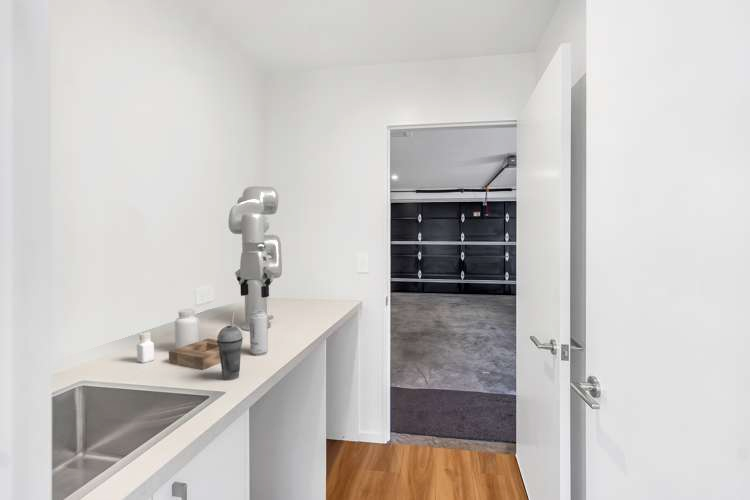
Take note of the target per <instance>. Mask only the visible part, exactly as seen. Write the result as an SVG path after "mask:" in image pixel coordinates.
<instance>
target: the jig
mask: <svg viewBox="0 0 750 500" xmlns="http://www.w3.org/2000/svg"><path fill="white" fill-rule="evenodd" d="M168 362H169V364H174V365H178V366H183V367H188V368H192V369H198V370H202V371H203V370H205V369H206V370H207V369H209V368H211V367H213V366H216V365H218V364H221V360H220V352H219V347H218V342H217V339H214V338H206V339H201V340H199V342H196V343H192V344H189V345H186V346H183V347H180V348H177V349H176V348H174V349H171V350H168Z"/></svg>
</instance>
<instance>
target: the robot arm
mask: <svg viewBox="0 0 750 500" xmlns="http://www.w3.org/2000/svg"><path fill="white" fill-rule="evenodd" d="M278 206H279V195H278V191H277V189H275V187H273V186H257V185H256V186H248V187H246V188H244V190H243V192H242V196H241V197H239V198H237V204H235V205H233V206H232V207H231V209H230V211H229V214H228V221H227V222H228V229H229V231H230V232H231V233H232V234H234V235H241V243H242V244H241V246H242V252H241V255H240V262H239V265H240V266H239V267H240V268H239V269H238V270H236V271H235V272H234V274H235V277H236V280H237V281H238V285H240V297H244V318H245V320H244V322H245V323H244V324H242V325H241V329H242V330H243V331H249V332H250V316H251V312H253V311H265V313H266V315H267V329H269V328H271V327H272V323H270V322H269V321H271V320H273V319H274V315H273V314H271V315H268V307H267V305H268V304H267V301H268V300H267V299H268V297H270V286H271V283H272V282H273V280H274V279H278V278H280V277H281V276H282V274H283V261H282V258H283V257H282V243H281V240H280V237H279V236H278V235H276V234H266V232H267V231H268V230H269V228H270V219H269V218H268V216H267V215H275V214H276V213H277V211H278ZM269 256H270V257H269Z"/></svg>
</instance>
